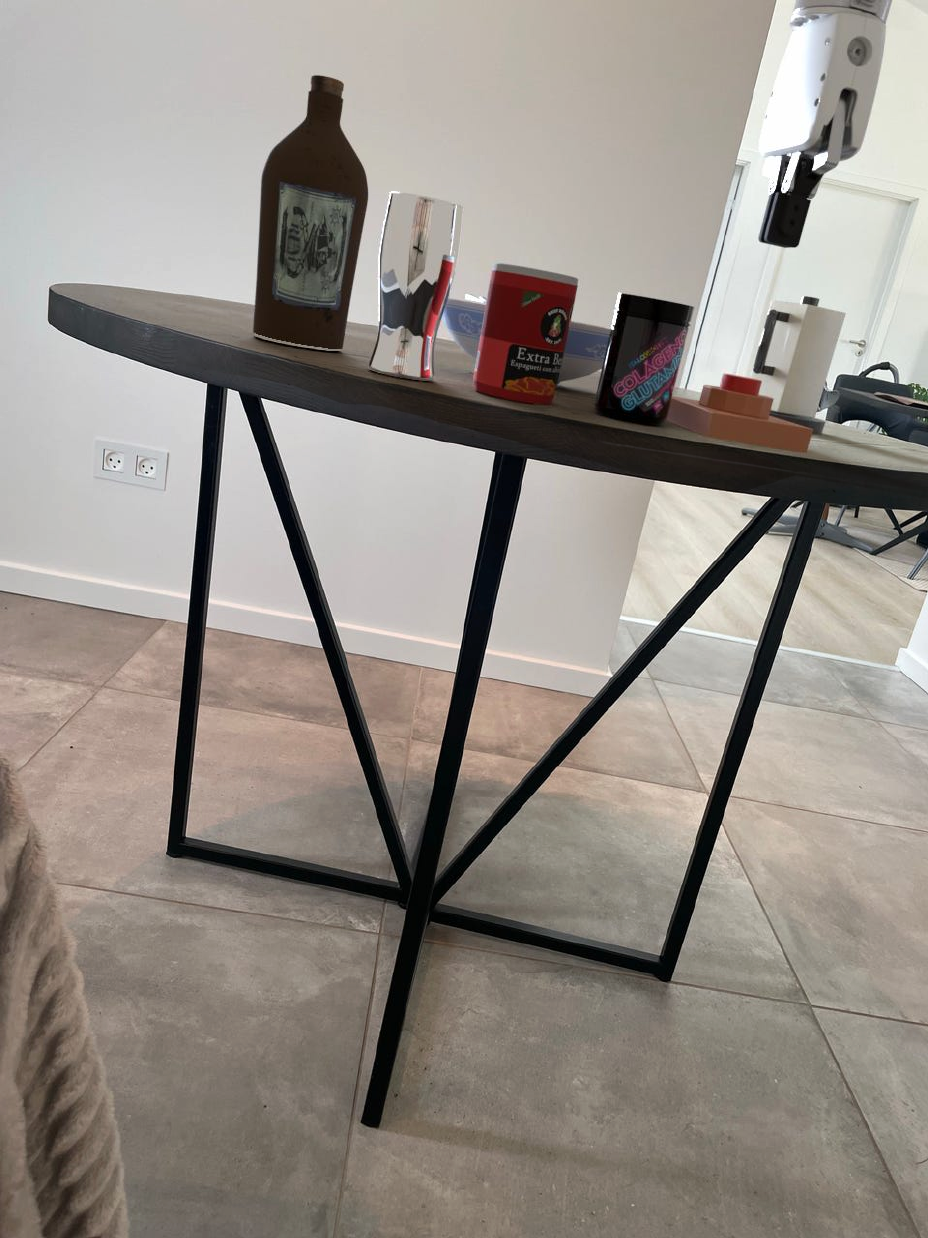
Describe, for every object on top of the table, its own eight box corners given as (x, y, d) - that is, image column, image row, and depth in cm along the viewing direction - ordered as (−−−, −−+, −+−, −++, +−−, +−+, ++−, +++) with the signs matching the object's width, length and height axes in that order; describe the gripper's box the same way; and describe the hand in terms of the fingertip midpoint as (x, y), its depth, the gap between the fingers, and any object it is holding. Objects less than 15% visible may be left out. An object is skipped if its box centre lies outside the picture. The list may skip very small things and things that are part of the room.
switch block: (744, 430, 95) (755, 391, 94) (806, 453, 84) (819, 409, 83) (655, 416, 93) (664, 375, 91) (707, 437, 82) (719, 391, 80)
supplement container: (589, 415, 81) (616, 291, 78) (593, 409, 87) (618, 294, 84) (665, 431, 80) (696, 306, 77) (664, 424, 87) (693, 308, 83)
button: (745, 396, 89) (750, 377, 89) (763, 401, 86) (769, 382, 85) (711, 390, 88) (716, 371, 88) (729, 395, 85) (734, 376, 84)
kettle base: (713, 410, 115) (716, 398, 115) (791, 423, 118) (794, 412, 117) (756, 425, 105) (759, 411, 105) (840, 439, 108) (844, 426, 107)
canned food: (507, 401, 80) (532, 267, 76) (453, 384, 86) (475, 259, 82) (571, 408, 84) (598, 281, 81) (516, 392, 90) (539, 273, 87)
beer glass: (408, 372, 90) (434, 206, 85) (453, 385, 85) (483, 210, 80) (348, 365, 85) (372, 189, 81) (392, 378, 81) (420, 193, 76)
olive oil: (245, 331, 101) (269, 75, 93) (341, 347, 104) (373, 100, 96) (247, 340, 92) (275, 55, 83) (353, 357, 95) (390, 83, 86)
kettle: (792, 410, 116) (823, 302, 112) (828, 419, 111) (862, 306, 107) (727, 400, 111) (757, 287, 107) (761, 409, 106) (794, 291, 102)
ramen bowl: (641, 410, 96) (660, 328, 93) (422, 370, 94) (436, 286, 92) (603, 387, 119) (618, 322, 117) (428, 355, 118) (439, 288, 115)
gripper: (938, -2, 71) (862, 252, 77) (830, 40, 85) (772, 253, 91) (854, -28, 69) (783, 234, 75) (757, 19, 83) (703, 238, 89)
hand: (777, 244), depth 83 cm, fingers closed
